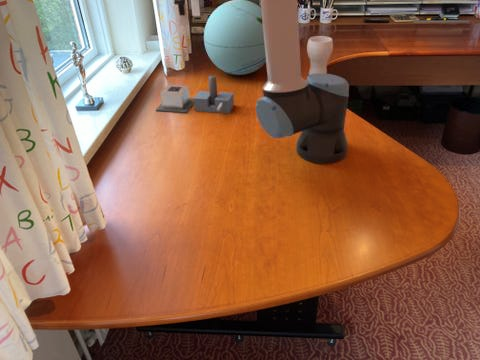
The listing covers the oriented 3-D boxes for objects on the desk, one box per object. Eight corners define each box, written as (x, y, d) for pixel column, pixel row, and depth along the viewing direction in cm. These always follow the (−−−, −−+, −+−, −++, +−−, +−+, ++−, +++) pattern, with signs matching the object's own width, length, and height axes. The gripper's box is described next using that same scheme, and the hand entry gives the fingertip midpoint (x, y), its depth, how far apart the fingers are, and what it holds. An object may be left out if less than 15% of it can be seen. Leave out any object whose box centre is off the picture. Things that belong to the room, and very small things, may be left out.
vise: (226, 118, 142) (224, 86, 135) (190, 116, 145) (187, 84, 138) (233, 105, 151) (232, 74, 144) (200, 103, 154) (197, 72, 147)
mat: (186, 113, 147) (186, 111, 147) (155, 111, 149) (155, 109, 149) (196, 100, 156) (196, 98, 156) (167, 98, 159) (167, 96, 159)
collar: (183, 109, 149) (181, 94, 145) (162, 107, 150) (160, 92, 147) (190, 100, 155) (188, 85, 151) (170, 99, 157) (168, 84, 153)
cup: (330, 79, 169) (333, 43, 160) (304, 78, 171) (306, 42, 162) (330, 70, 177) (333, 35, 169) (306, 69, 179) (308, 35, 171)
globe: (263, 88, 164) (263, 10, 146) (196, 81, 172) (188, 7, 155) (281, 64, 187) (283, -6, 169) (221, 59, 195) (216, -8, 178)
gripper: (181, -47, 116) (189, 29, 128) (205, -55, 136) (210, 12, 148) (157, -46, 118) (167, 29, 130) (184, -54, 138) (191, 12, 150)
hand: (190, 20), depth 139 cm, fingers open, 13 cm apart
